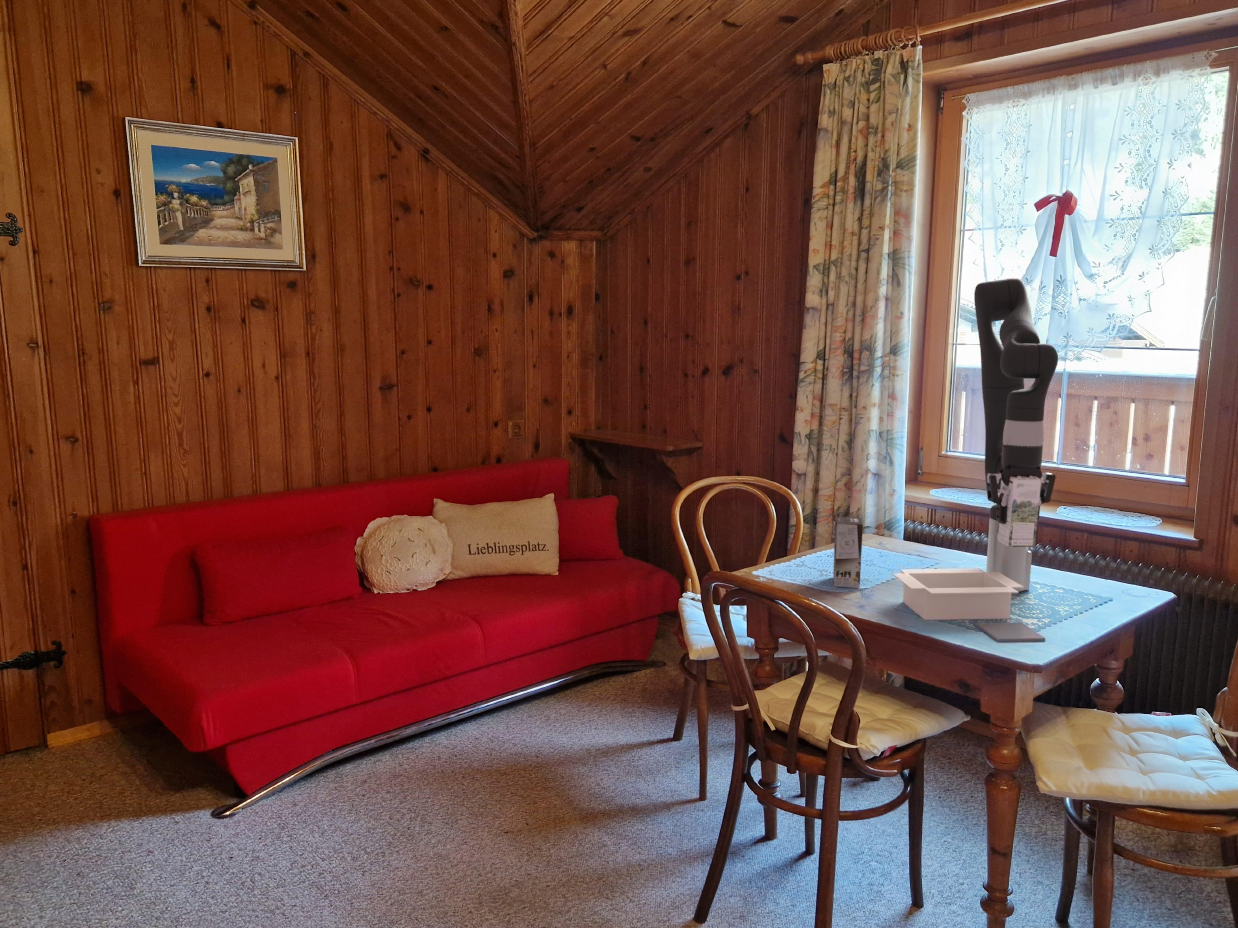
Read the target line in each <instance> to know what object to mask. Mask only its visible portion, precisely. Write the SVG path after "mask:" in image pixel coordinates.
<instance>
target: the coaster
mask: <svg viewBox="0 0 1238 928" xmlns="http://www.w3.org/2000/svg"><path fill="white" fill-rule="evenodd" d="M975 626H976V627H977V628H978V629H980V630H981V631H983V633H985V634H986V635H988V636H989V637H991V638H992V639H993V640H994V641H996V642H997V643H1000V642H1001V643H1003V642H1006V643H1007V642H1010V643H1011V642H1046V637H1044V636H1043V635H1041V634H1040V633H1038V632H1037V631H1035V630H1034V629H1032V628H1031V627H1030V626H1028V625H1026V624H1025V623H1023V622H1022V621H1021V622H1020V621H1019V622H1013V621H1012V622H976V623H975Z"/></svg>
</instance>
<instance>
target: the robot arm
mask: <svg viewBox="0 0 1238 928" xmlns="http://www.w3.org/2000/svg"><path fill="white" fill-rule="evenodd" d="M973 295H974V308H975V309H974V310H975V311H974V312H975V317H976V325H977V331H978V332H977V333H978V340H979V349H980V351H979V352H980V366H981V390H982V402H983V410H984V427H985V429H984V430H985V432H984V435H985V440H984V442H985V444H984V445H985V447H984V476H985V478H984V479H985V486H986V495H987V496H986V497H987V498H986V499H987V501H988V502H991V503H993V504H994V505H992V506H991V507H990V510H989V521H988V522H989V524H988V540H987V552H986V553H987V555H986V569H985V572H999V573H1001V574H1003V575H1004V576H1006V577H1008V578H1009V579H1011V580H1013V581H1015V582H1016V583H1018V584H1020V585H1021V586H1023V587H1024V588H1013V589H1015V590H1016V591H1018V592H1023V591H1024V592H1025V591H1029V590H1030V587H1031V586H1030V585H1031V583H1030V582H1031V573H1032V571H1031V569H1032V559H1033V557H1032V556H1033V553H1032V551H1031V550H1029V548H1030V547H1008V546H1006V545H1004V544H1002V543H1000V542H998V541H997V540H996V538H997V526H998V521H999V523H1001V524H1006V522H1007V508H1008V507H1007V506H1006V505H1007V503H1008V498H1009V496H1010V487H1009V489H1008V490H1007V491H1006V490H1004V484H1005V486H1009V482H1010V477H1016V478H1022V477H1028V478H1034V477H1033V476H1036V477H1038V478H1039V479H1040V480H1041V486H1040V497H1039V507H1038V518H1037V522H1038V521H1039V519H1040V512H1041V511H1040V510H1041V505H1043V504H1048V503H1050V502H1051V500H1052V499H1051V498H1052V494H1053V490H1054V486H1055V482H1056V478H1057V476H1056V475H1055V474H1053V473H1050V472H1042V470H1041V467H1042V462H1043V448H1044V440H1045V438H1044V435H1045V434H1044V433H1045V428H1044V418H1045V404H1046V398H1047V394H1048V390H1049V388H1050V385H1051V382H1052V379H1053V377H1054V374H1055V372H1056V370H1057V367H1058V362H1059V355H1058V351H1057V349H1056V347H1055V346H1053V345H1052V344H1050V343H1041V341H1040V337H1039V334H1038V332H1037V330H1036V327H1035V325H1034V323H1033V317H1032V315H1033V314H1032V308H1031V303H1030V298H1029V292H1028V288H1027V287H1026V284H1025V283H1024V281H1023V279H1020V278H1018V277H1017V278H1015V277H1012V278H1005V279H1004V278H1003V279H997V280H992V281H985V282H984V281H983V282H979V283H978V284H977V285H976V286H975V289H974V292H973ZM1000 321H1003V322H1002V323H1001V325H1000V328H999V333H998V334H999V335H998V336H999V338H998V337H997V335H996V333H995V331H994V329H993V322H1000ZM999 339H1000V340H999ZM1025 379H1034V381H1033V383H1032V385H1030V387H1027V388H1025ZM1001 480H1002V481H1003V483H1004V484H1003V485H1002V487H1001ZM1000 488H1001V489H1000ZM998 491H999V492H998Z"/></svg>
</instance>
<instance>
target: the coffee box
mask: <svg viewBox="0 0 1238 928" xmlns="http://www.w3.org/2000/svg"><path fill="white" fill-rule="evenodd" d="M834 521H835V522H834V523H835V524H834V545H833V547H834V549H833V585H834V586H833V587H837V588H838V587H840V588H852V589H853V588H854V589H860V588H861V585H860V584H861V568H862V567H861V566H862V553H863V552H862V550H863V549H862V548H863V547H862V546H863V529H864V524H863V523H864V522H863V521H862V518H861V517H859V516H835V520H834Z"/></svg>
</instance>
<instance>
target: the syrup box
mask: <svg viewBox="0 0 1238 928" xmlns="http://www.w3.org/2000/svg"><path fill="white" fill-rule="evenodd" d="M1033 477H1034V478H1028V477H1022V478H1016V477H1010V482H1009V486H1005V484H1004V483H1003V481H1002V480H1001V487H1002V485H1003V484H1004V490H1006V491H1007V490H1008V489H1009V487H1010V496H1009V498H1008V503H1007V505H1006V506H1007V507H1008V508H1007V522H1006V524H1001V523H999V521H998V526H997V538H996V540H997V541H998V542H1000V543H1002V544H1004V545H1006V546H1008V547H1029V548H1034V547H1035V546H1036V539H1037V538H1036V537H1037V529H1038V521H1037V518H1038V507H1039V497H1040V490H1041V486H1042V482H1041V478H1040V479H1039V478H1038V477H1036V476H1033ZM1000 489H1001V488H1000Z"/></svg>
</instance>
